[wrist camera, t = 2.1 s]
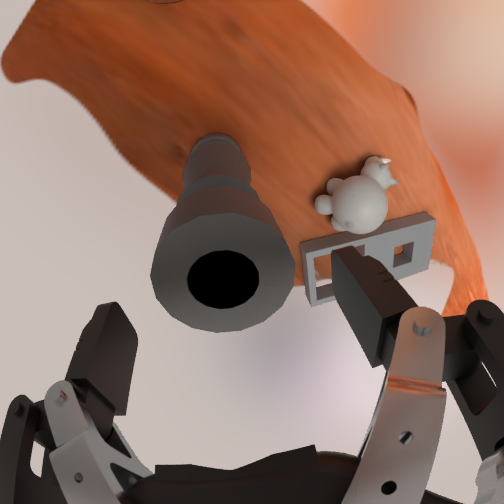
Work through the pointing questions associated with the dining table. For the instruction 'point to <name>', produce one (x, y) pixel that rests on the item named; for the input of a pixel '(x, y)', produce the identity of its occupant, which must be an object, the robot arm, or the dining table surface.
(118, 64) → the dining table surface
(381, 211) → the toy rhinoceros
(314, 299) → the hole board
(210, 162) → the candle holder
